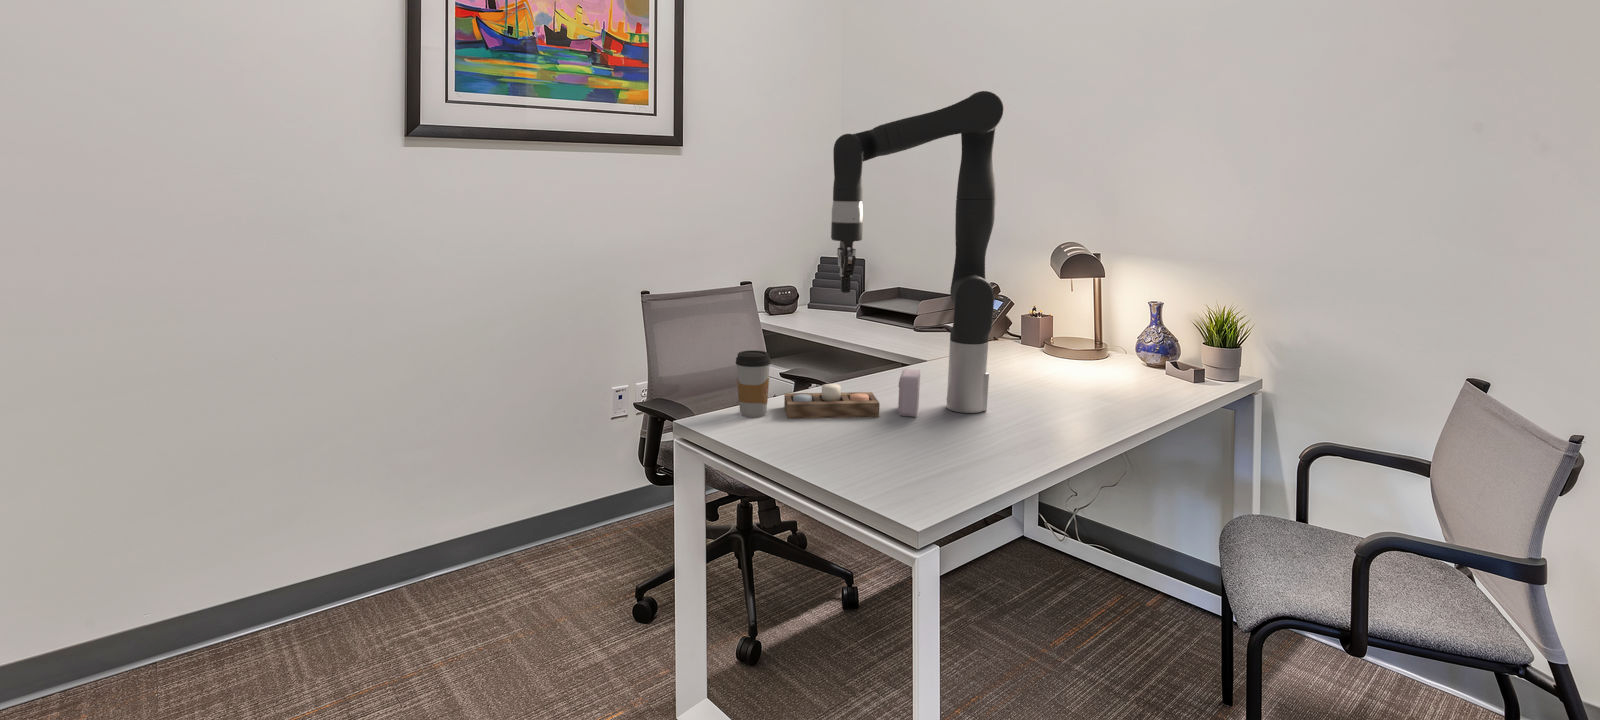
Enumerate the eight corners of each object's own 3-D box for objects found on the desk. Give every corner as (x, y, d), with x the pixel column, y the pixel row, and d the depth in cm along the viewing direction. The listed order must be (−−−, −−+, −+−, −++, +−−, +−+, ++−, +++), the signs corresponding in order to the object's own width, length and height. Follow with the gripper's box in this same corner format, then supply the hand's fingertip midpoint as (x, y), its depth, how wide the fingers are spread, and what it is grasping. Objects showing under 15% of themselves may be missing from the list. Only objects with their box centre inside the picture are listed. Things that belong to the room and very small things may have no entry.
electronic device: (900, 405, 198) (901, 367, 196) (918, 407, 197) (920, 368, 195) (896, 417, 189) (898, 376, 187) (916, 418, 188) (918, 377, 186)
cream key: (839, 396, 194) (839, 383, 193) (841, 401, 190) (842, 388, 189) (820, 396, 194) (820, 383, 193) (822, 401, 189) (823, 388, 188)
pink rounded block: (866, 405, 195) (867, 393, 195) (870, 410, 191) (870, 398, 190) (848, 405, 195) (848, 393, 194) (851, 411, 190) (851, 398, 190)
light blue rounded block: (810, 406, 194) (810, 393, 193) (812, 411, 189) (812, 398, 189) (792, 406, 193) (792, 394, 193) (793, 412, 189) (793, 399, 188)
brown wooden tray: (871, 405, 198) (871, 392, 197) (879, 417, 188) (879, 402, 188) (784, 406, 196) (784, 393, 195) (787, 418, 186) (787, 404, 186)
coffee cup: (765, 420, 185) (765, 358, 181) (731, 418, 186) (731, 356, 183) (774, 410, 193) (774, 351, 189) (741, 408, 194) (740, 349, 191)
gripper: (867, 222, 183) (865, 296, 187) (857, 219, 196) (855, 288, 200) (835, 221, 182) (834, 296, 186) (827, 219, 195) (826, 288, 199)
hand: (845, 292), depth 193 cm, fingers closed
